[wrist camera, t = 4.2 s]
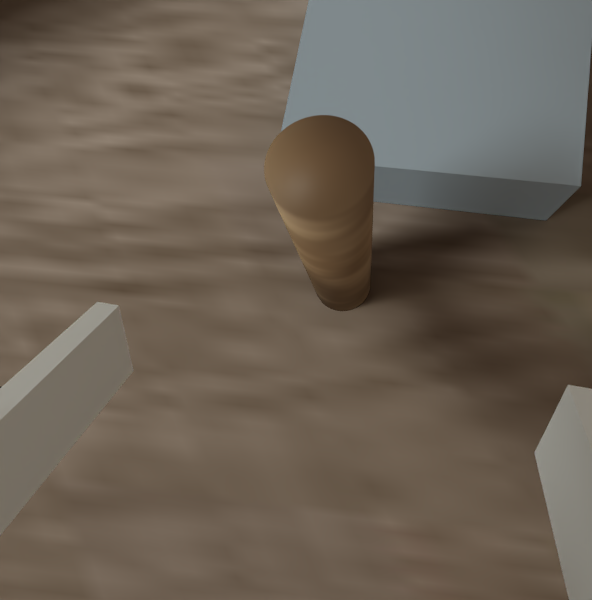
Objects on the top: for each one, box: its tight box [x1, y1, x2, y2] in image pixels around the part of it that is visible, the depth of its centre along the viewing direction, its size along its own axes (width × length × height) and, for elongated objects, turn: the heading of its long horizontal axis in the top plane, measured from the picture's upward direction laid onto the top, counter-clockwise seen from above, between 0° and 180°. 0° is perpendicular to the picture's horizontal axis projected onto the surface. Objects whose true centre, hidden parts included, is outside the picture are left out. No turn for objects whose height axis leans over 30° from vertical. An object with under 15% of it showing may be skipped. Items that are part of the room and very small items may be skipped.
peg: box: [264, 115, 375, 311], centre depth 19 cm, size 3×3×13 cm
